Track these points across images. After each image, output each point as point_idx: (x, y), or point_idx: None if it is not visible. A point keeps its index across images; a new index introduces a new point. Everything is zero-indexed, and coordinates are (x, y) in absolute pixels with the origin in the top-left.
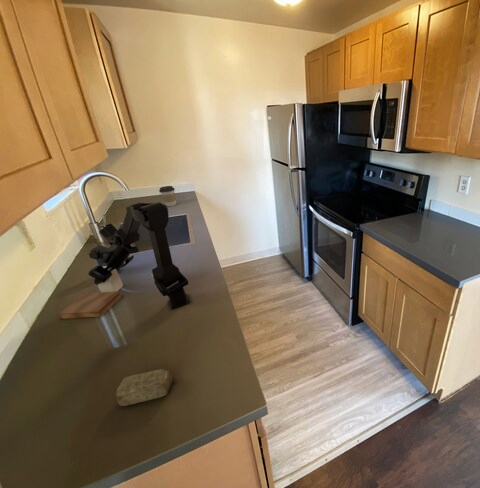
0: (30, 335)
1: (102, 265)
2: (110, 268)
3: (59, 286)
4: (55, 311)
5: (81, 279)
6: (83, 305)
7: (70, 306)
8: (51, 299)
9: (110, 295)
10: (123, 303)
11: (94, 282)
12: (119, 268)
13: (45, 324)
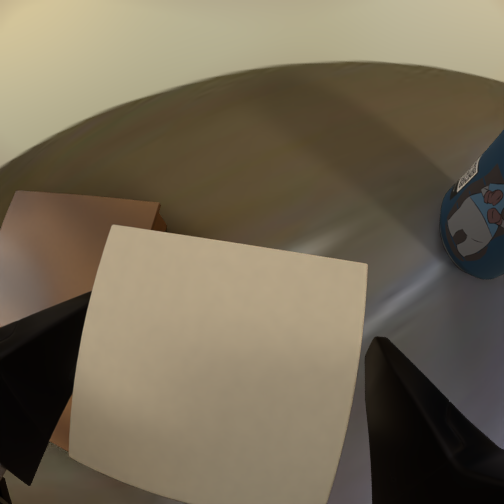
0: (7, 165)
1: (485, 181)
2: (219, 498)
3: (346, 62)
4: (110, 140)
5: (403, 110)
6: (19, 281)
7: (42, 209)
8: (236, 73)
9: (68, 418)
10: (60, 468)
11: (85, 293)
12: (373, 470)
13: (35, 167)
